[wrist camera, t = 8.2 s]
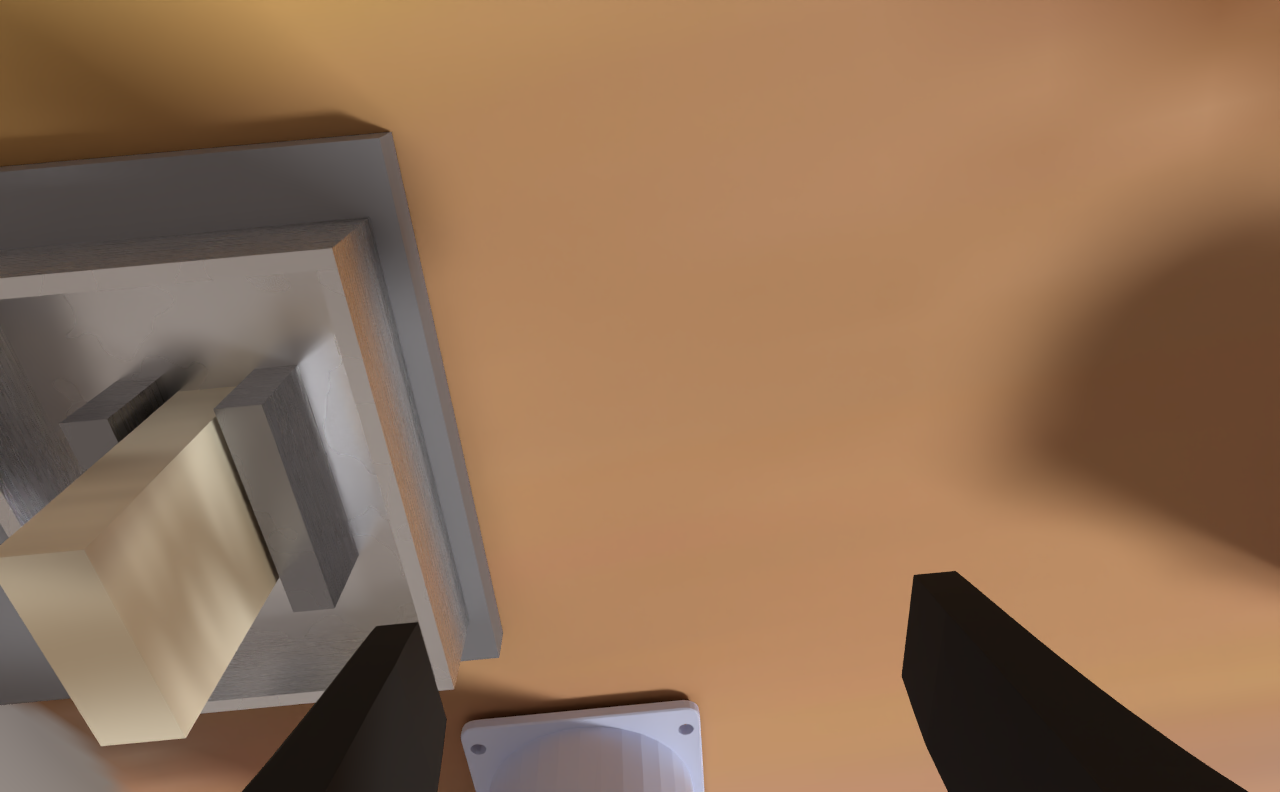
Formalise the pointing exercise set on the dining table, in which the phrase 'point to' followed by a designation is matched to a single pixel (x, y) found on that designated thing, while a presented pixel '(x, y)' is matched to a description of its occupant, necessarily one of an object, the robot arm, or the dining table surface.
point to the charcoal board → (247, 198)
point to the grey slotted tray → (246, 424)
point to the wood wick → (144, 574)
